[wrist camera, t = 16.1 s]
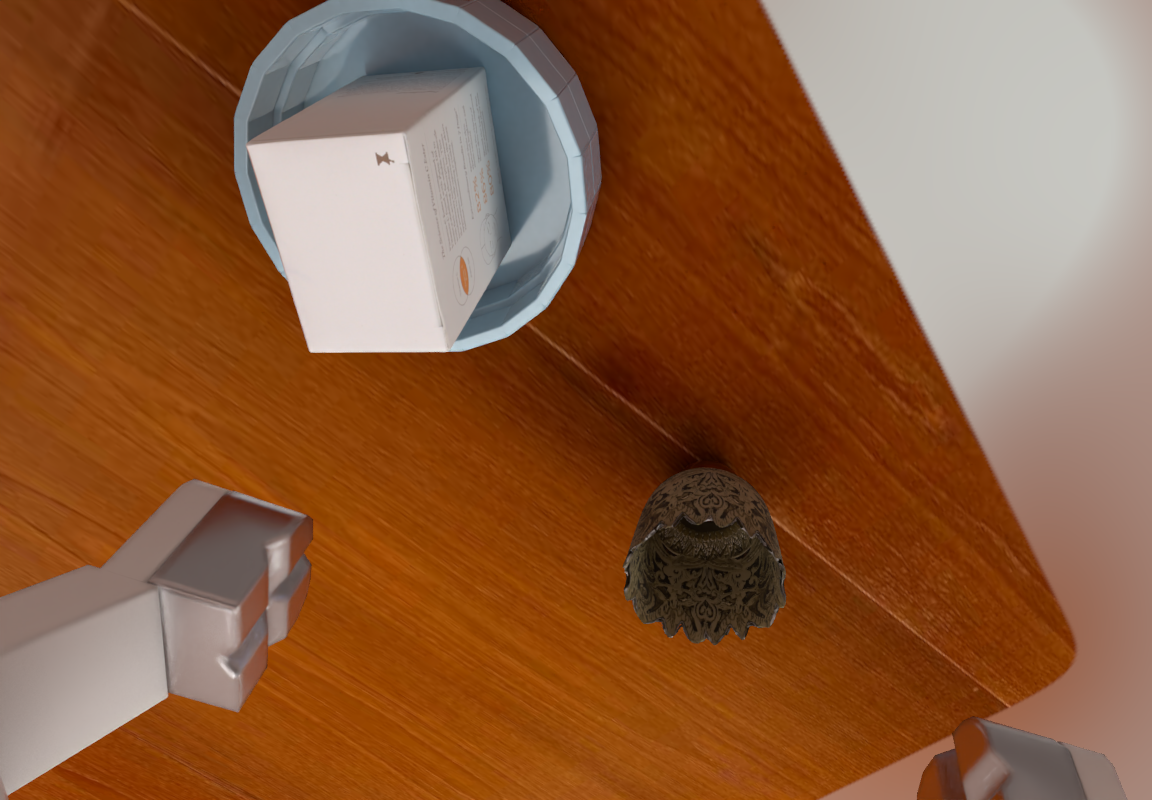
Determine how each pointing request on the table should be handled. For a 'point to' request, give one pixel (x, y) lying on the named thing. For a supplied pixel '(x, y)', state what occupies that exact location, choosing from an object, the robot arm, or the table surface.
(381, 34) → the bowl
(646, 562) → the cup
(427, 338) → the small box
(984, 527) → the table surface
